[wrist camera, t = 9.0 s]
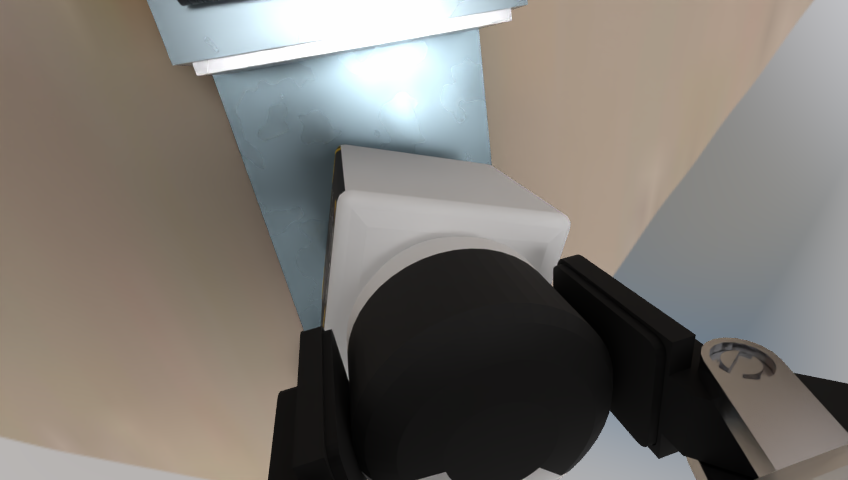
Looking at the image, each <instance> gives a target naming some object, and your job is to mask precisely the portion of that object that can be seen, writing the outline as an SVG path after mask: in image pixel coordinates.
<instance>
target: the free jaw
mask: <svg viewBox="0 0 848 480" xmlns="http://www.w3.org/2000/svg"><path fill="white" fill-rule="evenodd" d="M147 2H148V4H149V7H150V9H151V12H152V14H153V17H154V19H155V22H156V24H157V27H158V30H159V32H160V35H161V37H162V40H163V42H164V45H165V47H166V50H167V52H168V55H169V57H170V60H171V63H172V65H182V66H194V69H195V72H196V74H197V76H204V75H224V74H229V73H235V72H241V71H246V70H252V69H257V68H263V67H269V66H274V65H280V64H286V63H291V62H297V61H303V60H308V59H314V58H320V57H325V56H331V55H337V54H342V53H348V52H354V51H359V50H365V49H371V48H376V47H382V46H388V45H393V44H399V43H405V42H410V41H416V40H421V39H427V38H433V37H438V36H444V35H450V34H455V33H461V32H467V31H472V30H477V29H480V28H484V27H488V26H492V25H496V24H500V23H504V22H508V21H512V16H511V10H512V9H515V8H519V7H522V6H525V5H528V3H527V0H147Z"/></svg>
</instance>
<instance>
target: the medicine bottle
mask: <svg viewBox="0 0 848 480" xmlns="http://www.w3.org/2000/svg"><path fill="white" fill-rule="evenodd" d="M570 223H571V222H570V221H569V219H568V217H567V215H565V214H564V213H562V212H561V211H559V210H558V209H556V208H555V207H553V206H552V205H550V204H549V203H547V202H546V201H544V200H543V199H541V198H540V197H538V196H537V195H535V194H534V193H532V192H531V191H529V190H528V189H526V188H525V187H523V186H522V185H520V184H519V183H517V182H516V181H514V180H513V179H511V178H510V177H508V176H507V175H505V174H504V173H502V172H501V171H499V170H498V169H496V168H495V167H493V166H492V165H489V164H482V163H475V162H468V161H461V160H453V159H446V158H439V157H432V156H425V155H417V154H410V153H403V152H396V151H389V150H382V149H374V148H367V147H360V146H353V145H346V144H345V145H340V146H339V147H337V149H336V151H335V160H334V170H333V181H332V192H331V202H330V213H329V223H328V234H327V245H326V255H325V266H324V277H323V287H322V311H321V326H323V328H324V330H325V331H326V330H330V329H332V331H333V333H334V336H335V340H336V343H337V346H338V349H339V352H340V355H341V358H342V361H343V365H344V368H345V371H346V374H347V377H348V380H349V396H350V415H351V434H352V446H353V449H354V452H355V455H356V459H357V461H358V464H359V467H360V469H361V472H362V473H363V474H364V476H365V477H366V478H367V479H368V480H559V479H560V478H561V477H562V476H564V475H565V474H566V473H567V472H568V471H570V470H571V469H572V468H573V467H574V466H575V465H576V464H577V463H578V462H579V461H580V460H581V459H582V458H583V457H584V456H585V454H586V453H587V452H588V451H589V450H590V448H591V447H592V445H593V444H594V443H595V441H596V440H597V438H598V436H599V434H600V433H601V431H602V429H603V427H604V425H605V422H606V420H607V417H608V414H609V411H610V406H611V402H612V391H613V367H612V361H611V358H610V355H609V352H608V349H607V347H606V345H605V344H604V342H603V340H602V338H601V337H600V336H599V335H598V334H597V332H596V331H595V330H594V329H593V328H592V327H591V326H590V325H589V324H588V323H587V322H586V321H585V320H584V319H583V318H582V317H581V315H580V314H579V313H578V312H577V311H576V310H575V309H574V308H573V307H572V306H571V305H570V304H569V303H568V302H567V301H566V300H565V299H564V298H563V297H562V296H561V295H560V294H559V293H558V292H557V291H556V290H555V289H554V288H553V287H552V286H551V283H552V280H553V268H554V267H555V266H557V263H558V261H559V259H560V256H561V253H562V250H563V247H564V244H565V241H566V239H567V236H568V233H569V230H570Z"/></svg>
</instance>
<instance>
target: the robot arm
mask: <svg viewBox="0 0 848 480" xmlns="http://www.w3.org/2000/svg"><path fill="white" fill-rule="evenodd" d="M553 288H554V289H555V290H556V291H557V292H558V293H559V294H560V295H561V296H562V297H563V298H564V299H565V300H566V301H567V302H568V303H569V304H570V305H571V306H572V307H573V308H574V309H575V310H576V311H577V312H578V313H579V314H580V315H581V317H582V318H583V319H584V320H585V321H586V322H587V323H588V324H589V325H590V326H591V327H592V328H593V329H594V330H595V331H596V332H597V334H598V335H599V336H600V337H601V338H602V340H603V342H604V344H605V345H606V347H607V349H608V352H609V355H610V358H611V361H612V367H613V391H612V402H611V406H610V411H611V412H612V413H613V415H614V416H615V417H616V418H617V419H618V420H619V421H620V423H621V424H622V425H623V426H624V427H625V428H626V430H627V431H629V433H630V434H631V435H632V436H633V438H634V439H635V440H636V441H637V442H638V443H639V444H640V445H641V446H643V447H647V446H648V447H649V448H650V449H651V451H652V452H653V453H654V454H655V455H656V456H657V457H658V459H660V458H662V457H665V456H668V455H670V454H673V453H676V452H678V451H679V452H680V453H681V454H682V455H683V456H686V457H687V461H688V463H689V465H690V467H691V469H692V472H693V474H694V476H695V478H696V480H848V384H847V383H842V382H836V381H832V380H826V379H822V378H817V377H812V376H807V375H801V374H796V373H793V372H792V371H791V370H790V369H789V367H788V366H787V365H786V364H785V363H784V362H783V361H782V360H781V359H780V358H779V357H778V356H777V355H776V354H774V353H773V352H772V351H770V350H768V349H767V348H765V347H763V346H761V345H758V344H756V343H753V342H750V341H747V340H741V339H737V338H718V339H713V340H711V341H708V342H706V343H705V344H704V345H703V344H702V343H700V342H699V341H697V340H696V339H695V336H696V335H695V334H694V333H692V332H691V331H689V330H688V329H686V328H685V327H683V326H682V325H681V324H679V323H678V322H676V321H675V320H673V319H672V318H671V317H669V316H668V315H666V314H665V313H663V312H662V311H660V310H659V309H658V308H656V307H655V306H653V305H652V304H650V303H649V302H647V301H646V300H645V299H643V298H642V297H640V296H639V295H637V294H636V293H635V292H633V291H632V290H630V289H629V288H627V287H626V286H624V285H623V284H622V283H620V282H619V281H617V280H616V279H614V278H613V277H612V276H610V275H609V274H607V273H606V272H604V271H603V270H601V269H600V268H599V267H597V266H596V265H594V264H593V263H591V262H590V261H588V260H587V259H586V258H584V257H583V256H581V255H574V256H571V257H567V258H563V259H560V260H559V261H558V263H557V266H555V267H554V268H553ZM268 480H367V478H366V477H365V476H364V474H363V473H362V472H361V469H360V467H359V464H358V461H357V459H356V455H355V452H354V449H353V446H352V434H351V415H350V396H349V380H348V377H347V374H346V371H345V368H344V365H343V361H342V358H341V355H340V352H339V349H338V346H337V343H336V340H335V336H334V333H333V331H332V329H330V330H326V331H325V330H324V328H323V326H320V327H317V328H313V329H309V330H306V331H302V332H301V334H300V350H299V367H298V384H297V387H294V388H290V389H287V390H284V391H280V393H279V395H278V399H277V408H276V416H275V425H274V433H273V442H272V450H271V459H270V467H269V476H268Z"/></svg>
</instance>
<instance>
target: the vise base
mask: <svg viewBox="0 0 848 480" xmlns="http://www.w3.org/2000/svg"><path fill="white" fill-rule="evenodd" d="M213 78H214V81H215V84H216V86H217V89H218V92H219V95H220V98H221V100H222V103H223V106H224V109H225V111H226V114H227V117H228V120H229V123H230V125H231V128H232V131H233V134H234V137H235V139H236V142H237V145H238V148H239V151H240V153H241V156H242V159H243V162H244V165H245V167H246V170H247V173H248V176H249V178H250V181H251V184H252V187H253V190H254V192H255V195H256V198H257V201H258V204H259V206H260V209H261V212H262V215H263V218H264V220H265V223H266V226H267V229H268V231H269V234H270V237H271V240H272V243H273V245H274V248H275V251H276V254H277V257H278V259H279V262H280V265H281V268H282V271H283V273H284V276H285V279H286V282H287V285H288V287H289V290H290V293H291V296H292V298H293V301H294V304H295V307H296V310H297V312H298V315H299V318H300V321H301V324H302V326H303V329H304V331H306V330H309V329H313V328H317V327H320V326H321V311H322V287H323V277H324V266H325V255H326V245H327V234H328V223H329V213H330V202H331V192H332V181H333V170H334V160H335V151H336V149H337V147H339V146H340V145H345V144H346V145H353V146H360V147H367V148H374V149H382V150H389V151H396V152H403V153H410V154H417V155H425V156H432V157H439V158H446V159H453V160H461V161H468V162H475V163H482V164H489V165H492V164H491V153H490V143H489V132H488V122H487V111H486V101H485V90H484V80H483V69H482V58H481V48H480V37H479V29H477V30H472V31H467V32H461V33H455V34H450V35H444V36H438V37H433V38H427V39H421V40H416V41H410V42H405V43H399V44H393V45H388V46H382V47H376V48H371V49H365V50H359V51H354V52H348V53H342V54H337V55H331V56H325V57H320V58H314V59H308V60H303V61H297V62H291V63H286V64H280V65H274V66H269V67H263V68H257V69H252V70H246V71H241V72H235V73H229V74H224V75H213Z"/></svg>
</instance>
